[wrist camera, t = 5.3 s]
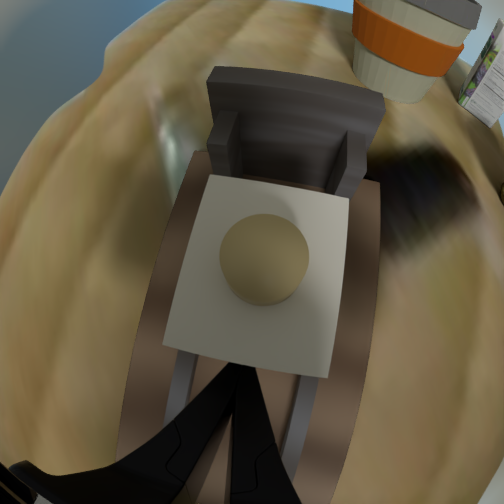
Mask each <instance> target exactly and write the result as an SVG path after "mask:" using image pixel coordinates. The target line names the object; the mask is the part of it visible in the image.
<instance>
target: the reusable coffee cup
mask: <svg viewBox="0 0 504 504" xmlns="http://www.w3.org/2000/svg"><path fill="white" fill-rule="evenodd" d="M481 8H482V6H481V5H480V4H479V3H477V2H476V1H475V0H354V4H353V24H352V33H353V35H354V36H355V48H354V59H353V72H354V74H355V76H356V77H357V78H358V79H359V80H360V82H362V83H363V84H364V85H365V86H366V87H368V88H369V89H371V90H373V91H376V92H380V93H383V97H385V98H388V99H390V100H393V101H396V102H400V103H406V104H414V103H417V102H419V101H420V100H421V99H422V98H423V96H424V95H425V94H426V92H427V91H428V90H429V88H430V87H431V86H432V84H433V83H434V82H435V80H436V79H437V78H438V77H441V76H443V75H445V73H446V72H447V71H448V69H449V68H450V67H451V65H452V64H453V63H454V61H455V60H456V59H457V57H458V56H459V54H460V53H461V52H462V50H463V49H464V44H463V41H464V40H465V38H466V37H467V35H468V34H469V33H470V31H471V30H472V29H473V30H474V29H476V27H477V23H478V20H479V16H480V12H481Z"/></svg>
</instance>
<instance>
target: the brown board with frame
mask: <svg viewBox="0 0 504 504" xmlns="http://www.w3.org/2000/svg"><path fill="white" fill-rule="evenodd" d="M206 83H207V89H208V95H209V101H210V106H211V112H212V118H213V123H214V126H213V128H212V130H211V133H210V135H209V138H208V140H207V143H206V144H207V148H208V152H204V151H194V153H193V156H192V158H191V161H190V163H189V166H188V169H187V171H186V174H185V176H184V179H183V182H182V184H181V187H180V190H179V193H178V195H177V198H176V201H175V204H174V207H173V210H172V212H171V215H170V218H169V221H168V224H167V227H166V230H165V233H164V237H163V240H162V243H161V246H160V249H159V253H158V256H157V259H156V262H155V266H154V269H153V273H152V276H151V280H150V283H149V287H148V291H147V294H146V298H145V302H144V306H143V310H142V314H141V318H140V322H139V326H138V330H137V334H136V339H135V343H134V348H133V353H132V357H131V362H130V367H129V372H128V377H127V383H126V388H125V394H124V400H123V406H122V412H121V419H120V426H119V434H118V442H117V450H116V460H115V462H117V461H119V460H120V459H122V458H124V457H125V456H127V455H128V454H130V453H131V452H133V451H134V450H136V449H137V448H138V447H140V446H141V445H143V444H144V443H146V442H147V441H148V440H150V439H151V438H152V437H154V436H155V435H156V434H157V433H158V432H160V431H161V430H162V429H163V428H164V427H165V426H166V425H167V424H168V423H169V422H170V421H171V420H174V418H175V417H176V416H177V415H178V414H179V413H180V412H181V411H182V410H183V409H184V408H185V407H186V406H187V405H188V404H189V403H190V402H191V401H192V400H193V399H194V398H195V397H196V396H197V395H198V394H199V393H200V392H201V390H202V389H203V388H204V387H205V386H206V385H207V384H208V383H209V382H210V381H211V380H212V379H213V378H214V377H215V376H216V375H217V374H218V373H219V372H220V371H221V370H222V369H223V367H224V366H225V365H226V364H227V363H228V361H223V360H219V359H215V358H211V357H206V356H202V355H198V354H194V353H191V352H187V351H183V350H179V349H176V348H172V347H169V346H165V345H162V344H163V339H164V335H165V330H166V326H167V322H168V318H169V314H170V310H171V306H172V302H173V298H174V294H175V290H176V286H177V282H178V279H179V275H180V271H181V268H182V264H183V260H184V257H185V253H186V250H187V246H188V243H189V239H190V236H191V233H192V229H193V226H194V223H195V219H196V216H197V213H198V210H199V206H200V203H201V200H202V197H203V194H204V191H205V188H206V185H207V182H208V179H209V176H210V174H211V175H219V176H226V177H233V178H240V179H247V180H253V181H259V182H266V183H272V184H277V185H283V186H289V187H294V188H300V189H305V190H310V191H315V192H320V193H325V194H330V195H335V196H339V197H344V198H349V212H348V228H347V241H346V253H345V264H344V274H343V283H342V291H341V299H340V306H339V314H338V321H337V327H336V334H335V340H334V346H333V352H332V357H331V363H330V368H329V373H328V378H321V377H313V376H306V375H299V374H292V373H286V372H280V371H274V370H268V369H262V368H257V367H256V371H257V375H258V378H259V382H260V386H261V389H262V393H263V397H264V400H265V404H266V408H267V411H268V415H269V419H270V422H271V426H272V429H273V433H274V436H275V440H276V443H277V446H278V450H279V453H280V456H281V459H282V462H283V464H284V467H285V469H286V472H287V474H288V476H289V478H290V480H291V482H292V484H293V486H294V488H295V490H296V492H297V494H298V496H299V498H300V500H301V502H302V504H330V502H331V500H332V497H333V494H334V491H335V489H336V486H337V483H338V480H339V477H340V474H341V471H342V468H343V465H344V462H345V459H346V455H347V452H348V448H349V445H350V441H351V438H352V434H353V430H354V426H355V422H356V418H357V414H358V410H359V406H360V401H361V396H362V392H363V387H364V382H365V377H366V371H367V365H368V360H369V353H370V347H371V340H372V333H373V325H374V317H375V308H376V297H377V286H378V272H379V252H380V183H378V182H374V181H370V180H366V179H363V177H364V175H365V173H366V171H367V161H366V153H367V150H368V148H369V146H370V144H371V142H372V140H373V138H374V136H375V134H376V131H377V129H378V127H379V125H380V123H381V121H382V118H383V116H384V114H385V112H386V109H385V103H384V98H383V93H380V92H376V91H373V90H369V89H366V88H362V87H358V86H354V85H350V84H346V83H342V82H338V81H333V80H328V79H324V78H318V77H313V76H308V75H302V74H295V73H289V72H281V71H274V70H265V69H254V68H242V67H224V66H215V67H214V69H213V70H212V72H211V74H210V76H209V77H208V79H207V81H206ZM231 417H232V415H231ZM230 426H231V418H230V421H229V423H228V426H227V428H226V431H225V434H224V436H223V439H222V441H221V443H220V446H219V448H218V451H217V453H216V456H215V458H214V461H213V463H212V465H211V468H210V470H209V473H208V475H207V477H206V480H205V482H204V484H203V487H202V489H201V491H200V494H199V496H198V498H197V500H196V503H200V504H224V496H225V484H226V472H227V461H228V449H229V438H230Z"/></svg>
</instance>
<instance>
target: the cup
mask: <svg viewBox="0 0 504 504" xmlns="http://www.w3.org/2000/svg"><path fill="white" fill-rule="evenodd" d="M500 197H501V200H502V202H503V204H504V182H503V183H502V185H501V188H500Z"/></svg>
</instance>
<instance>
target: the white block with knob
mask: <svg viewBox="0 0 504 504" xmlns="http://www.w3.org/2000/svg"><path fill="white" fill-rule="evenodd" d="M348 212H349V198H344V197H339V196H335V195H330V194H325V193H320V192H315V191H310V190H305V189H300V188H294V187H289V186H283V185H277V184H272V183H266V182H259V181H253V180H247V179H240V178H233V177H226V176H219V175H211V174H210V176H209V179H208V182H207V185H206V188H205V191H204V194H203V197H202V200H201V203H200V206H199V210H198V213H197V216H196V219H195V223H194V226H193V229H192V233H191V236H190V239H189V243H188V246H187V250H186V253H185V257H184V260H183V264H182V268H181V271H180V275H179V279H178V282H177V286H176V290H175V294H174V298H173V302H172V306H171V310H170V314H169V318H168V322H167V326H166V330H165V335H164V339H163V344H162V345H165V346H169V347H172V348H176V349H179V350H183V351H187V352H191V353H194V354H198V355H202V356H206V357H211V358H215V359H219V360H223V361H228V362H232V363H237V364H242V365H247V366H252V367H257V368H262V369H268V370H274V371H280V372H286V373H292V374H299V375H306V376H313V377H321V378H328V373H329V368H330V363H331V357H332V352H333V346H334V340H335V334H336V327H337V321H338V314H339V306H340V299H341V291H342V283H343V274H344V264H345V253H346V241H347V228H348Z"/></svg>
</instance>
